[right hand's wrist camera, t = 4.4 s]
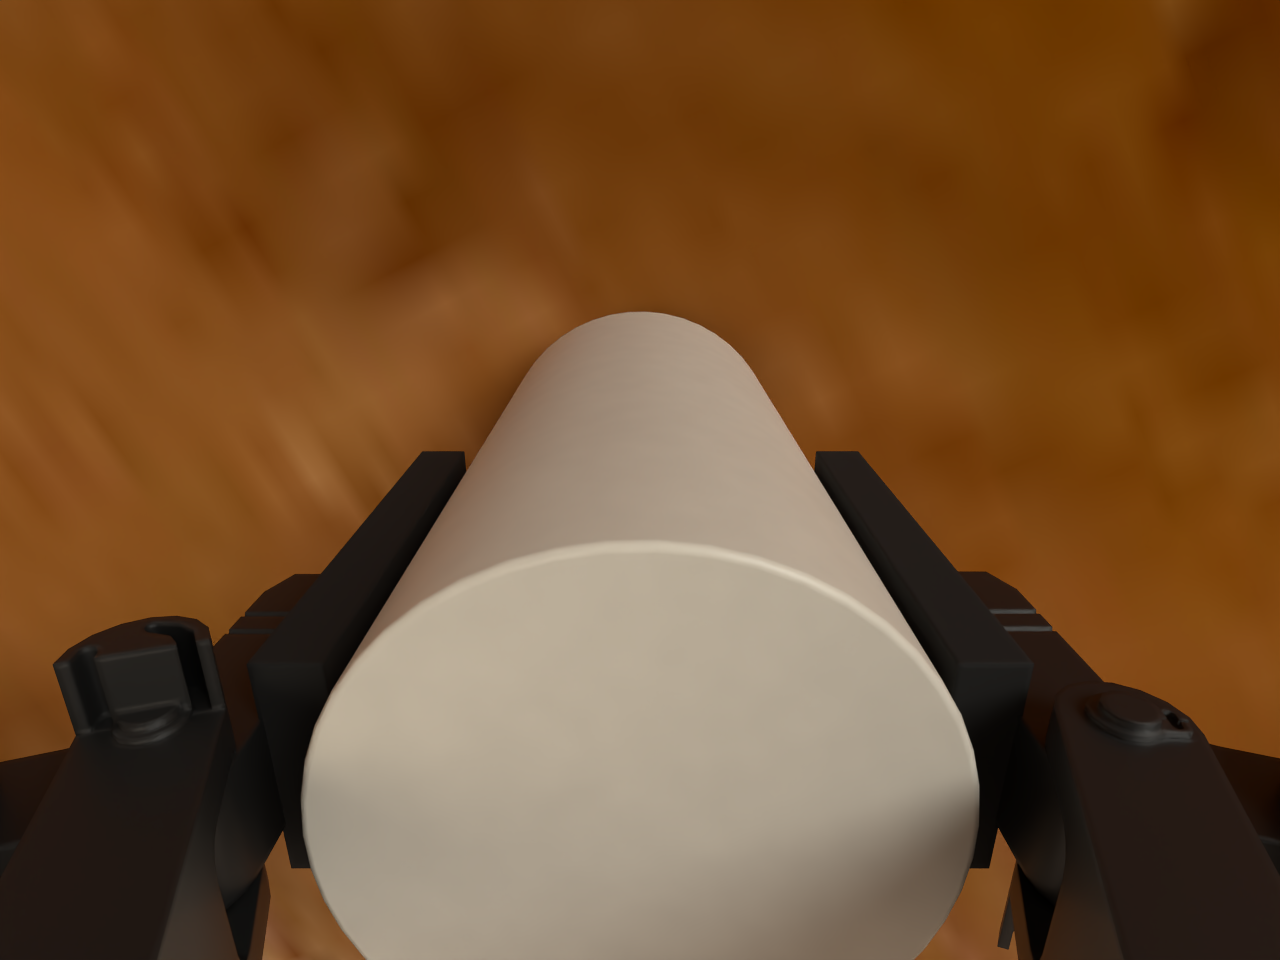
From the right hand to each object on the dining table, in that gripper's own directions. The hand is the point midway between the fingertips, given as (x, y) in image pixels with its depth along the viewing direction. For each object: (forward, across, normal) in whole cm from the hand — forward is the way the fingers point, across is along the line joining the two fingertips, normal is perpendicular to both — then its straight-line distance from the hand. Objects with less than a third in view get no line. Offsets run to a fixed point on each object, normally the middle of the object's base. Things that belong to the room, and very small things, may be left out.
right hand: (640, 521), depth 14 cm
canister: (+5, 0, 0) cm, 5 cm away
